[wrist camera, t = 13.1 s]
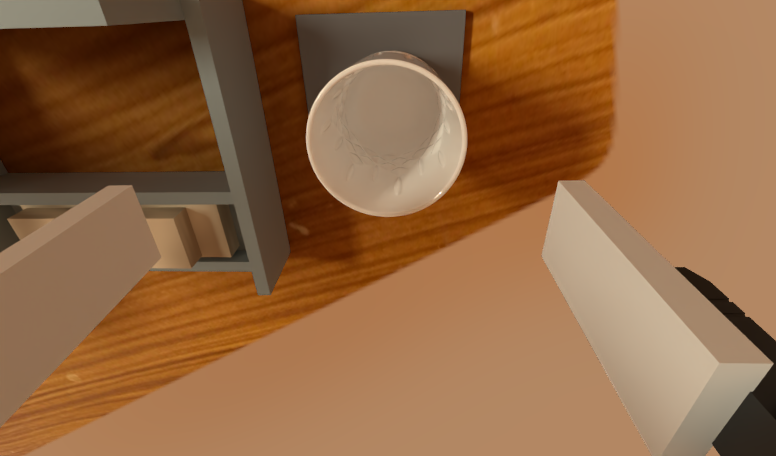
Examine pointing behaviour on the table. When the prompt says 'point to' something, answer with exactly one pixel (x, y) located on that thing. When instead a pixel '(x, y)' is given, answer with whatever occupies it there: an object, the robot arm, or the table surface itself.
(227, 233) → the block
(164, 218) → the upper offcut
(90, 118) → the table surface
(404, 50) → the mat
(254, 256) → the rack
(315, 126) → the white cup
